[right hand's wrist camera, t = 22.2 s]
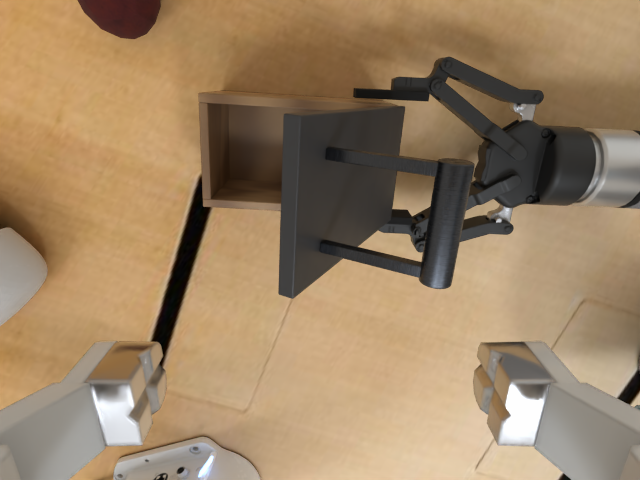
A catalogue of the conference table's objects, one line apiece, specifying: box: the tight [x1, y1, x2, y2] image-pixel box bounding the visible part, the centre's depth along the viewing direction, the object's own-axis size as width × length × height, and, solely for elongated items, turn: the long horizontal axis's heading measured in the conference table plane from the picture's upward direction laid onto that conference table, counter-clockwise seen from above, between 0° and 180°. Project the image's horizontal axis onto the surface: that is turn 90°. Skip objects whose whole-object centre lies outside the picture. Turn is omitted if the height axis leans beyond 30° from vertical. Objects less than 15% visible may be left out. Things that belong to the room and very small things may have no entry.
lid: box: [279, 106, 474, 299], centre depth 28 cm, size 18×10×9 cm
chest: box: [199, 91, 397, 211], centre depth 42 cm, size 17×10×10 cm, turn 87°
